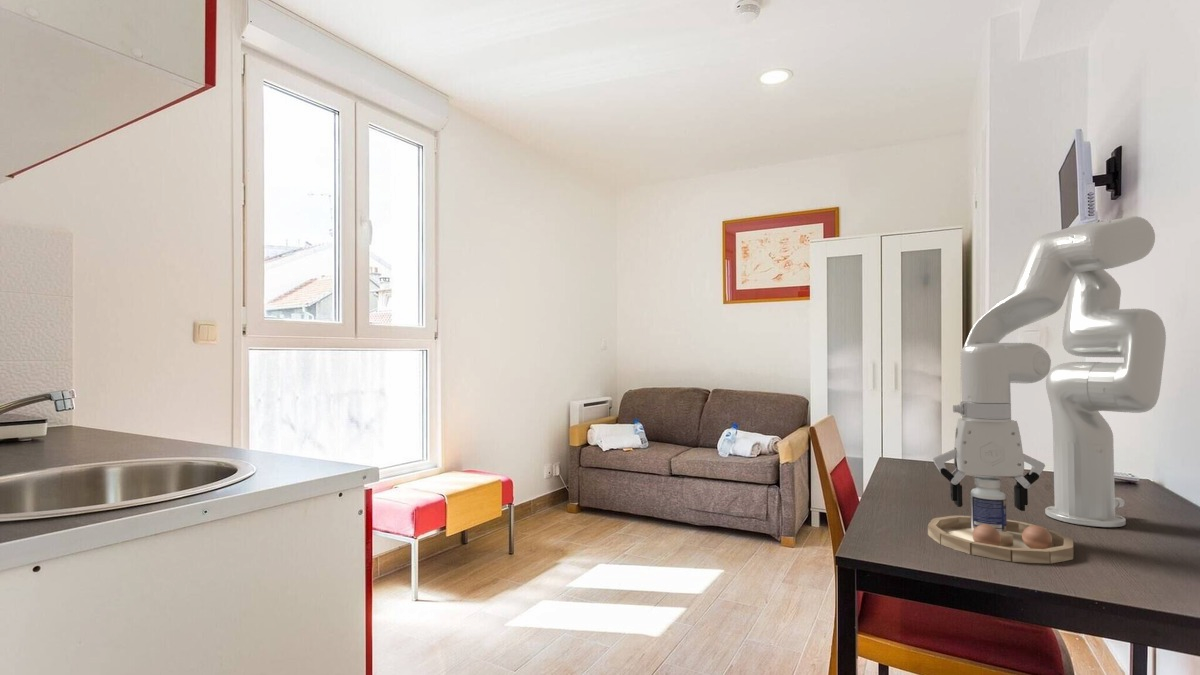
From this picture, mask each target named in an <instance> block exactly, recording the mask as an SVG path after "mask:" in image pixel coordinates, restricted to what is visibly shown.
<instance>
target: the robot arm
mask: <svg viewBox="0 0 1200 675" xmlns="http://www.w3.org/2000/svg"><path fill="white" fill-rule="evenodd" d="M1155 242H1156V234H1155V230H1154V227H1153V226H1152V224H1151V222H1149V221H1148V220H1146V219H1145V218H1143V217H1141V216H1127V217H1122V218H1121V217H1120V218H1116V219H1115V218H1114V219H1110V220H1103V221H1097V222H1090V223H1084V224H1079V225H1078V224H1077V225H1074V226H1070V227H1067V228H1063V229H1061V230H1058V231H1053V232H1048V233H1046V234H1043V235H1041V236H1040V235H1039V237H1037V238H1036V239H1034V241H1033V242H1032V243H1031V244H1030V247H1029V248H1028V251H1027V254H1026V256H1025V258H1024V260H1023V263H1022V265H1021V268H1020V270H1019V272H1018V275H1017V278H1016V280H1015V282H1014V285H1013V287H1012V291H1011V292H1010V293H1009V294H1008V296H1006V297H1004V298H1002V300H1000V301H999V302H997V303H996V304H994V305H993V306H992V307H991V308H990V309H989V310H988V311H986V312H985V313H984V314H982V316H981V317H979V318H978V320H976V321H975V323H974V325H973V326H972V327H971V329H970V330H969V333H968V336H967V338H966V340H965V343H964V344H963V347H962V349H961V351H960V379H961V380H960V381H961V383H960V385H961V386H960V387H961V388H960V389H961V390H960V391H961V392H960V393H961V401H960V403H959V404H957V405H956V404H955V405H953V406H952V411H953V413H956V414H960V416H961V417H960V418H958V419H957V424H956V427H955V428H956V429H955V436H954V447H953V448H954V449H951V450H949V451H946V452H945V453H941V454H939V455H937V456H935V457H933V458H932V461H933V463H934V465H935V466H936V468H937V470H938V471H939V473H940V474H941V475H942V476H943V477H945V479H947V480H948V482H950V483H949V484H950V487H949V488H950V500H951V501H952V502H953V503H954V504H955V506H956V507H958V508H962V507H963V505H964V504H963V486H962V484H961V483H960V482H961V481H962V480H963V479H964V478H965V477H966V476H968V477H969V476H970V477H978V476H980V477H993V478H1000V479H1001V478H1003V479H1005V478H1006V479H1013V480H1014V482H1016V484H1014V486H1013V498H1014V500H1013V501H1014V502H1013V503H1014V507H1015V508H1016V509H1017V510H1019V511H1021V512H1025V511H1026V506H1029V497H1028V496H1029V494H1028V492H1029V491H1028V490H1029V488H1031V486H1032V484H1034V483H1035V482H1036V481H1037V480H1038V479H1039V478H1040V475H1041V474H1042V472H1043V470H1044V469H1045V467H1046V464H1045V463H1044V462H1042V461H1040V460H1039V459H1036V458H1034V457H1031V456H1030V455H1027V454H1025V453H1024V452H1023V451H1024V450H1023V443H1022V438H1021V433H1020V427H1019V424H1018V421H1017V420H1013V419H1012V401H1011V398H1012V396H1011V395H1012V394H1011V384H1022V385H1023V384H1026V385H1027V384H1033V383H1037V382H1039V381H1042V380H1044V379H1045V390H1046V393H1047V396H1048V400H1049V406H1050V411H1051V418H1052V419H1051V420H1052V441H1053V442H1052V446H1053V447H1052V448H1053V454H1052V456H1053V486H1054V487H1053V489H1054V490H1053V492H1054V493H1053V496H1054V505H1049V506H1047V507H1046V508H1045V509H1044V511H1045V515H1046V516H1048V517H1050V518H1051V519H1054V520H1057V521H1061V522H1064V523H1070V524H1075V525H1079V526H1088V527H1099V528H1119V527H1124V526H1126V524H1127V523H1126V521H1127V520H1126V518H1125V516H1122V515H1120V514H1118V513H1116V509H1117V508H1122V507H1124V506H1125V503H1126V502H1125V500H1124V499H1122V498H1121V497H1116V495H1115V493H1116V492H1115V491H1116V490H1115V460H1114V458H1115V456H1114V451H1115V450H1114V433H1113V431H1112V427H1111V426H1110V424H1109V423H1108V422H1107V420H1106V419H1105V418H1104V416H1103V415H1102V414H1101V412H1103V411H1104V412H1113V413H1114V412H1115V413H1116V412H1117V413H1129V414H1137V413H1138V414H1139V413H1146V412H1149V411H1152V409H1153V408H1154V407H1156V404H1157V403H1158V401H1159V397H1160V393H1161V385H1162V378H1163V369H1164V360H1165V352H1166V343H1167V342H1166V340H1167V335H1166V327H1165V324H1164V322H1163V320H1162V317H1160V315H1158V313H1156V312H1155V311H1154V310H1150V309H1146V308H1120V306H1121V296H1122V288H1121V286H1120V285H1119V283H1118V282H1117V281H1116V280H1115V278H1114V277H1113V276H1112V275H1111V274H1109V273H1108V271H1106V270H1110V269H1114V268H1117V267H1121V266H1122V267H1123V266H1126V265H1128V264H1131V263H1134V262H1135V263H1136V262H1137V261H1140V260H1142V259H1144V258H1145V257H1147V256H1148V255H1149V254H1150V252H1152V250H1153V248H1154V246H1155ZM1066 297H1067V299H1066ZM1065 299H1066V306H1065V307H1066V308H1065V314H1064V321H1063V327H1062V328H1063V329H1062V340H1061V341H1062V347H1063V349H1064V350H1065V351H1066V352H1067V353H1068V354H1070V355H1071V356H1075V357H1082V358H1083V357H1084V358H1123V362H1102V361H1070V362H1069V361H1068V362H1063V363H1060V364H1057V365H1055V366H1054V367H1052V368H1051V366H1052V359H1051V356H1050V355H1049V353H1048V351H1046V349H1045V348H1043V347H1042V346H1040V345H1039V344H1035V343H1032V342H1031V343H1030V342H1001V341H1002V340H1003V339H1004V338H1005V337H1007V336H1008V335H1009V334H1011V333H1013V332H1014V331H1017V330H1018V329H1021V328H1023V327H1025V326H1028V325H1030V324H1034V323H1037V322H1039V321H1041V320H1044V319H1046V318H1048V317H1050V316H1052V315H1054V314H1056V313H1057V312H1059V311H1060V310H1061V309H1062V307H1063V305H1064V301H1065ZM951 460H953V464H954V468H955V469H954V470H953V471H952V472H950V470H948V469H947V467H946V465H945V464H946V463H947V462H949V461H951ZM1025 463H1027V464H1028V465H1030V466H1031V468H1030V471H1028V472H1027V473H1026V474H1025ZM1024 474H1025V475H1024Z"/></svg>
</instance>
